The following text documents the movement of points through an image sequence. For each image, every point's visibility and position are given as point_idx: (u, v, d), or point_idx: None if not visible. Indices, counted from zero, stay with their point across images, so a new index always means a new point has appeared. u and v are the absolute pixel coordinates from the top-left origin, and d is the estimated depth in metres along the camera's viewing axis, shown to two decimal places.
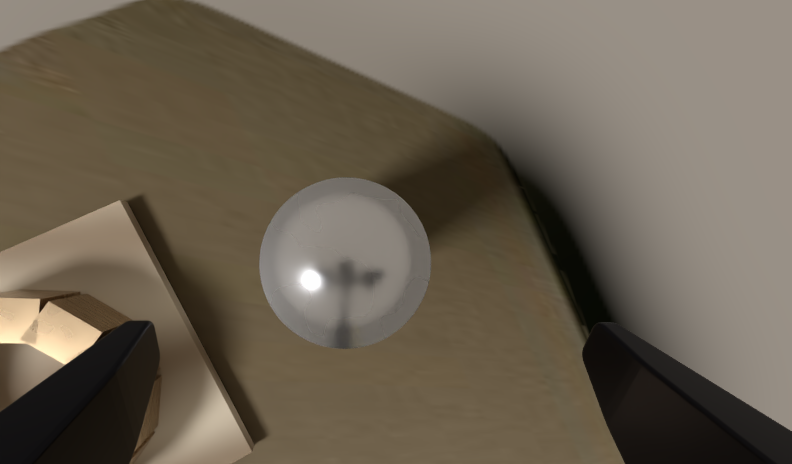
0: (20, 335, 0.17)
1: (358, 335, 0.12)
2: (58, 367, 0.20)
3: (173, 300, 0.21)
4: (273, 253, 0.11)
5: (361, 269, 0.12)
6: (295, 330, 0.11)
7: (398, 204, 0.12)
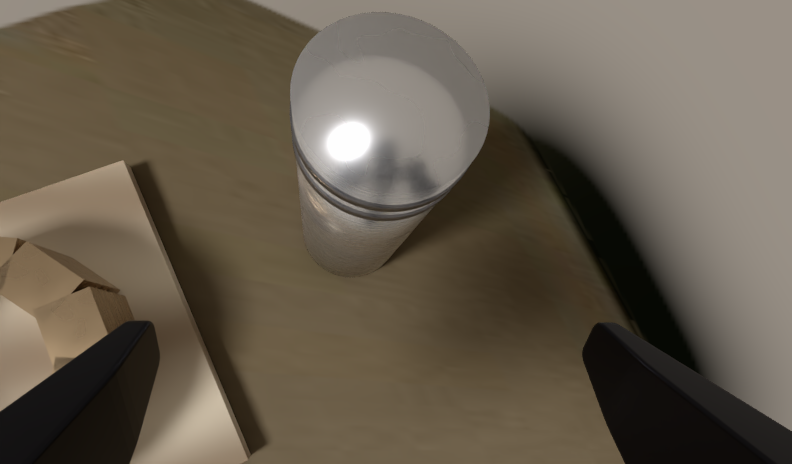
0: None
1: (407, 179, 0.09)
2: (24, 343, 0.17)
3: (170, 270, 0.19)
4: (307, 80, 0.10)
5: (409, 106, 0.10)
6: (330, 166, 0.09)
7: (449, 45, 0.10)
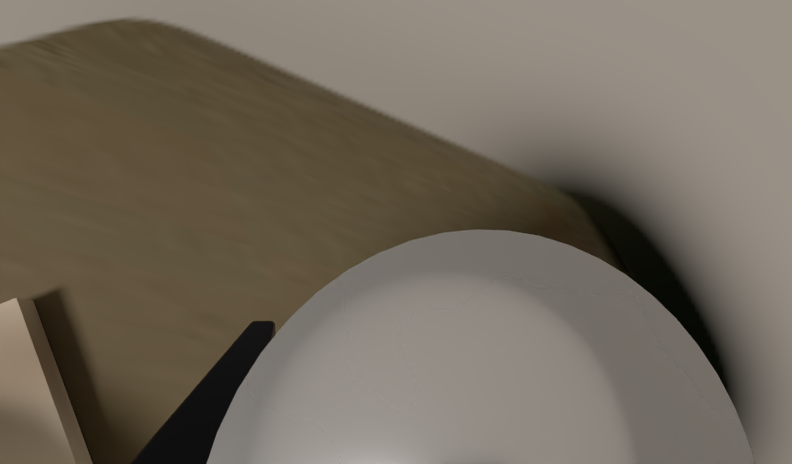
0: None
1: None
2: None
3: None
4: None
5: None
6: None
7: (641, 311, 0.04)
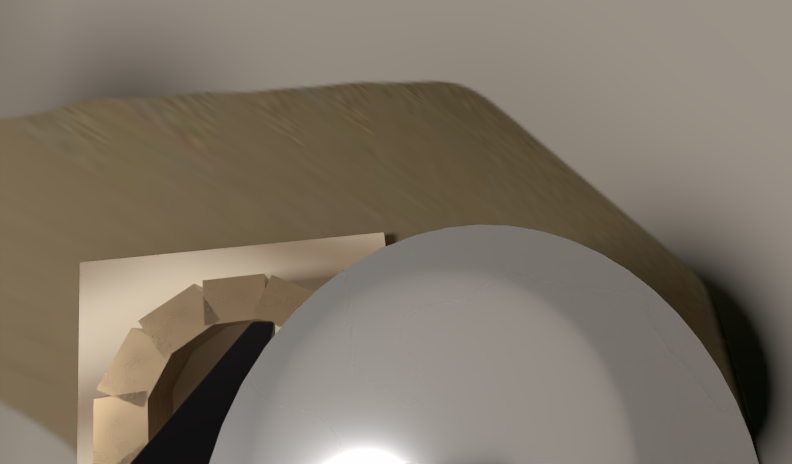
0: None
1: None
2: None
3: None
4: None
5: None
6: None
7: (643, 306, 0.04)
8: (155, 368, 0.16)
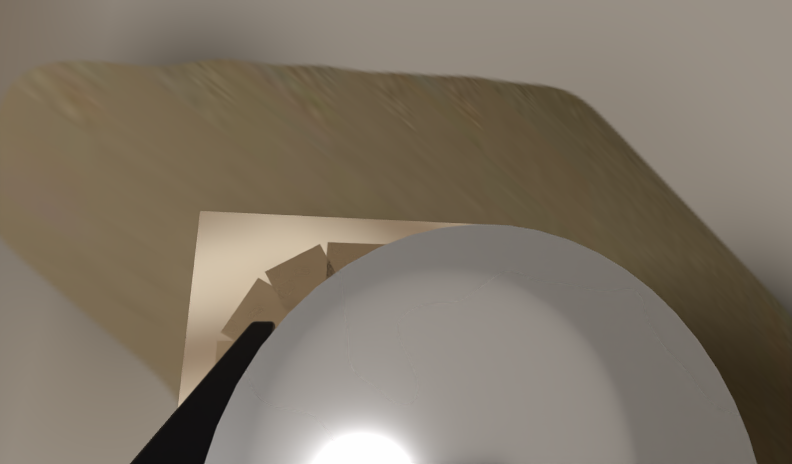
0: None
1: None
2: None
3: None
4: None
5: None
6: None
7: (641, 306, 0.04)
8: (276, 320, 0.16)
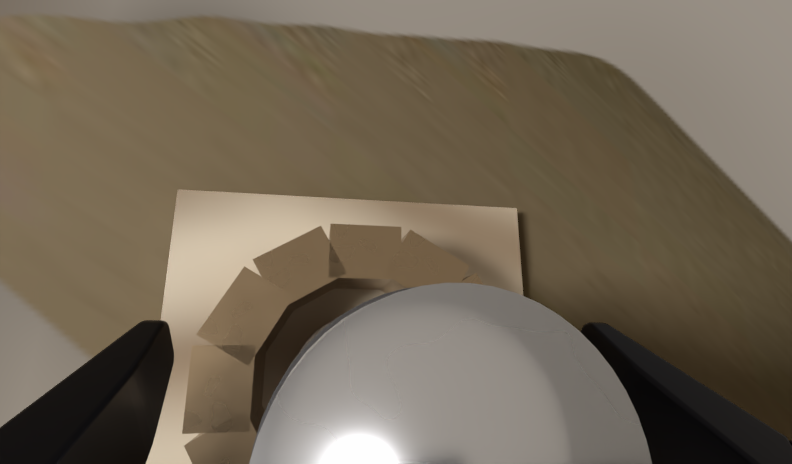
0: None
1: None
2: None
3: None
4: None
5: None
6: None
7: (570, 343, 0.05)
8: (267, 319, 0.13)
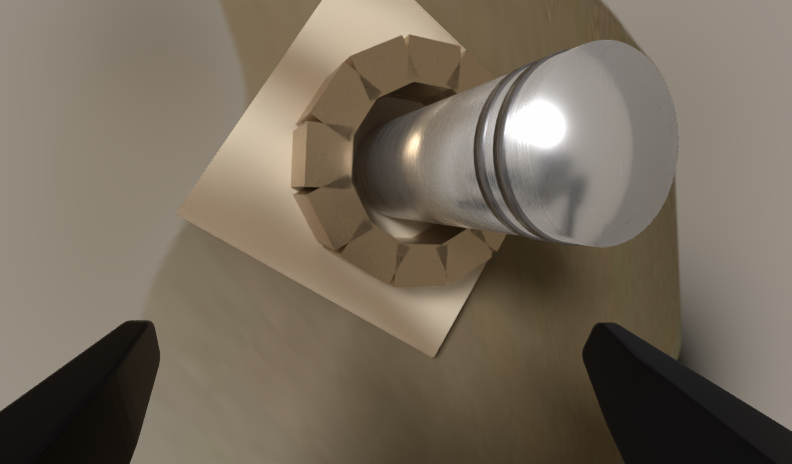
0: None
1: (579, 226, 0.10)
2: None
3: None
4: (561, 81, 0.09)
5: (616, 162, 0.10)
6: (535, 177, 0.09)
7: (671, 125, 0.10)
8: (396, 81, 0.17)
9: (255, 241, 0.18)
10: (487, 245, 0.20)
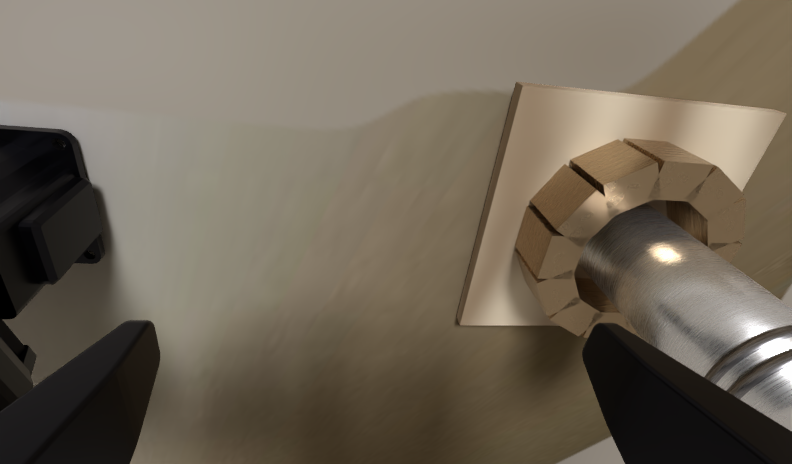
0: None
1: None
2: None
3: None
4: None
5: None
6: None
7: None
8: (705, 208, 0.20)
9: (517, 155, 0.21)
10: (585, 328, 0.23)
